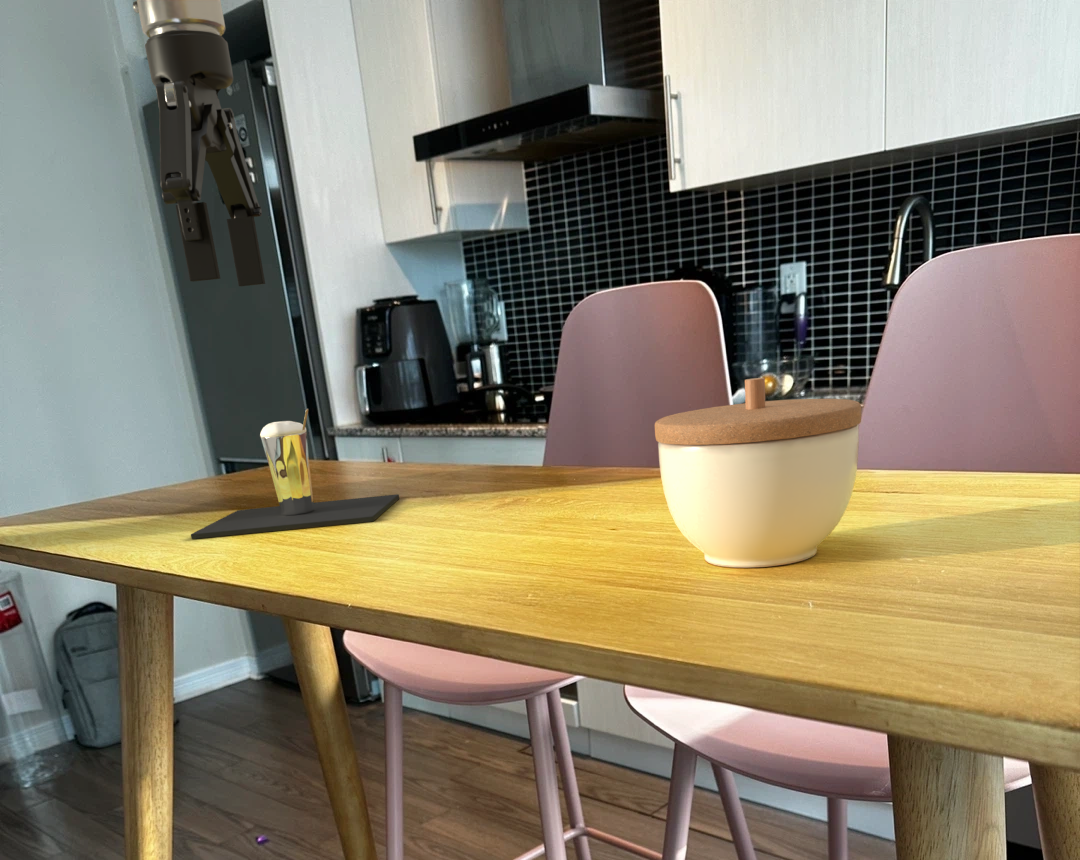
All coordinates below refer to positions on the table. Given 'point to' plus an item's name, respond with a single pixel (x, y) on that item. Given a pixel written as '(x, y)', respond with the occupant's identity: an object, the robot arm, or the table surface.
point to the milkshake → (289, 465)
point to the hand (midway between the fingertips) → (230, 283)
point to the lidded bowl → (759, 475)
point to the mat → (298, 517)
